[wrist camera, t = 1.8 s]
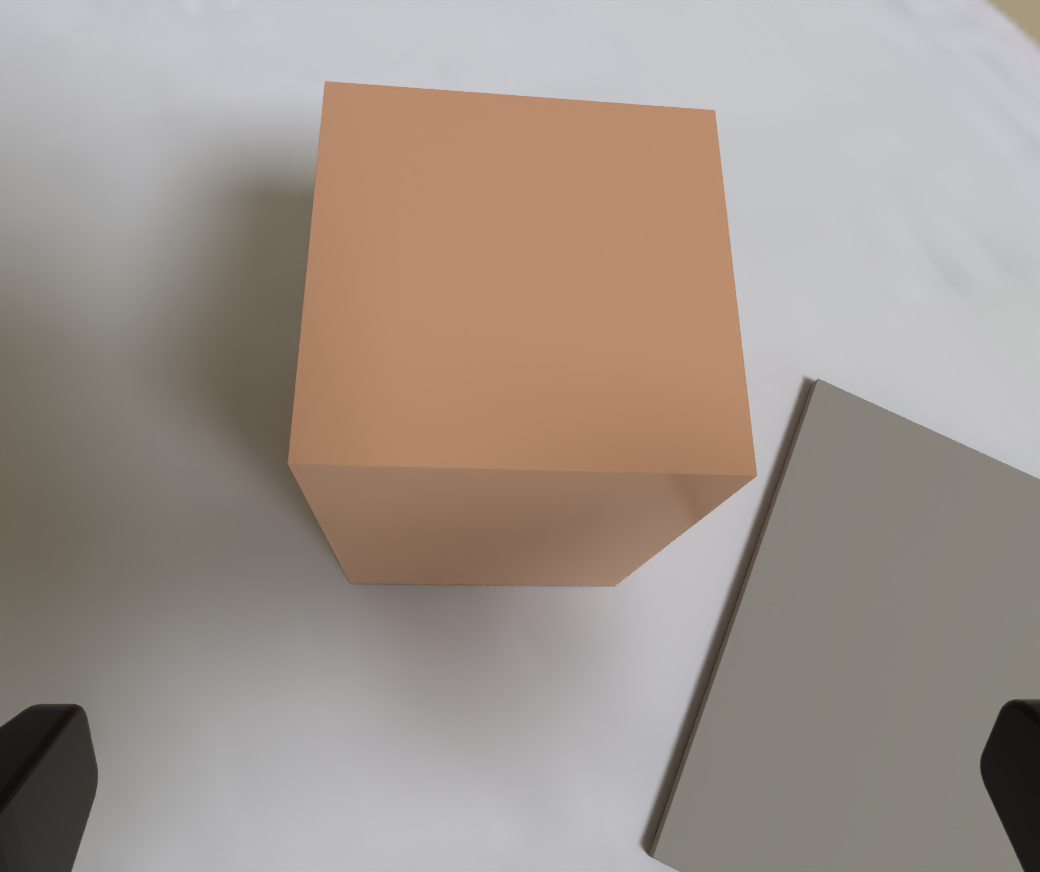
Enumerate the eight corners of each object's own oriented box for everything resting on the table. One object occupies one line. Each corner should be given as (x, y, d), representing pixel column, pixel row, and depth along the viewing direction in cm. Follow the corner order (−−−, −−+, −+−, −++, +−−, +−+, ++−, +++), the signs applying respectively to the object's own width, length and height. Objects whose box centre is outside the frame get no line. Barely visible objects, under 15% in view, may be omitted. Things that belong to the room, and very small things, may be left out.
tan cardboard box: (614, 586, 22) (756, 475, 12) (350, 583, 21) (287, 463, 12) (603, 352, 24) (715, 110, 15) (366, 341, 23) (324, 81, 14)
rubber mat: (1197, 1126, 19) (1213, 1134, 18) (648, 855, 19) (652, 857, 19) (1249, 583, 24) (1263, 580, 23) (812, 384, 24) (818, 378, 24)
